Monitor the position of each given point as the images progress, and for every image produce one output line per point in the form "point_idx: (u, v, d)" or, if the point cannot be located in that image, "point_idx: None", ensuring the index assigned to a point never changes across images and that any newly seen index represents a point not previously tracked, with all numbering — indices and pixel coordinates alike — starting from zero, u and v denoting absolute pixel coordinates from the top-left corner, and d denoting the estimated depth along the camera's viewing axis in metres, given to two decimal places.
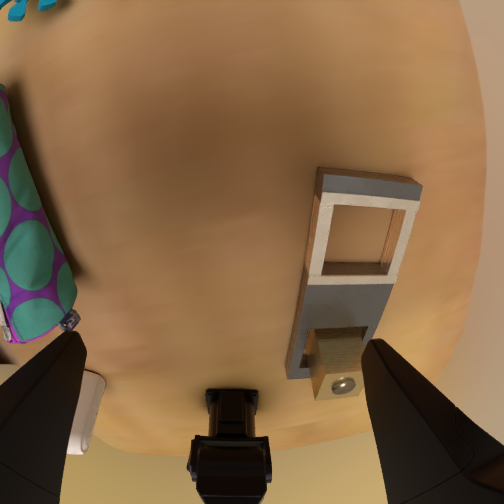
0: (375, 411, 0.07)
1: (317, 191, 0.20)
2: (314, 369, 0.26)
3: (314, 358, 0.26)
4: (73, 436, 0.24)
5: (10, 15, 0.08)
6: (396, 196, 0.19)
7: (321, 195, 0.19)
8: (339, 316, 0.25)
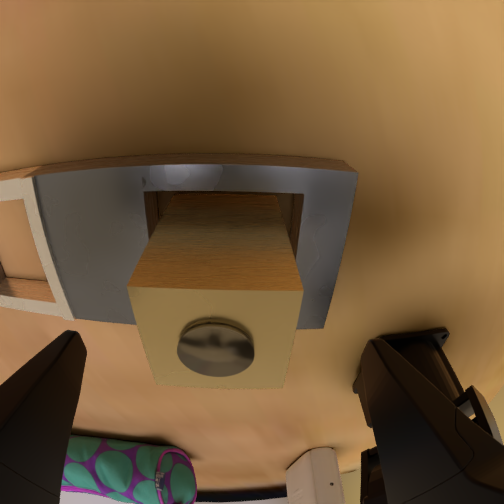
0: (375, 411, 0.07)
1: None
2: None
3: None
4: None
5: None
6: None
7: None
8: (121, 267, 0.12)
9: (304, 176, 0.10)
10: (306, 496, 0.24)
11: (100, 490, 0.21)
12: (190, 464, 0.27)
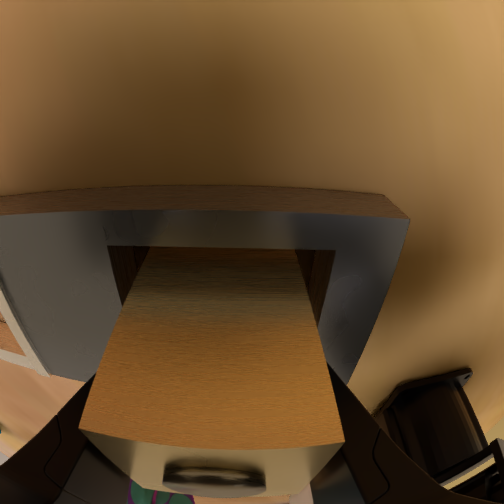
0: None
1: None
2: None
3: None
4: None
5: None
6: None
7: None
8: (92, 331, 0.09)
9: (338, 226, 0.07)
10: None
11: None
12: None
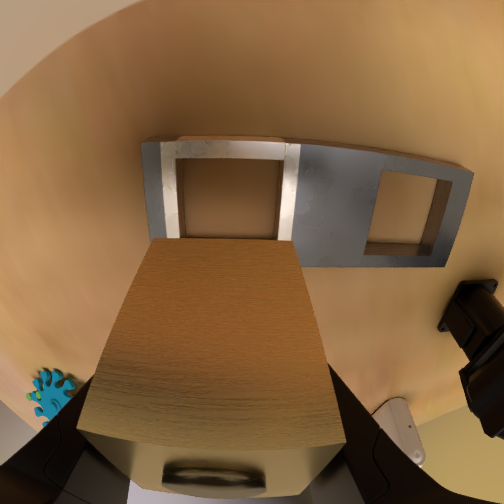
0: None
1: None
2: None
3: None
4: None
5: None
6: (161, 179, 0.16)
7: None
8: (350, 219, 0.18)
9: (454, 172, 0.16)
10: None
11: None
12: None
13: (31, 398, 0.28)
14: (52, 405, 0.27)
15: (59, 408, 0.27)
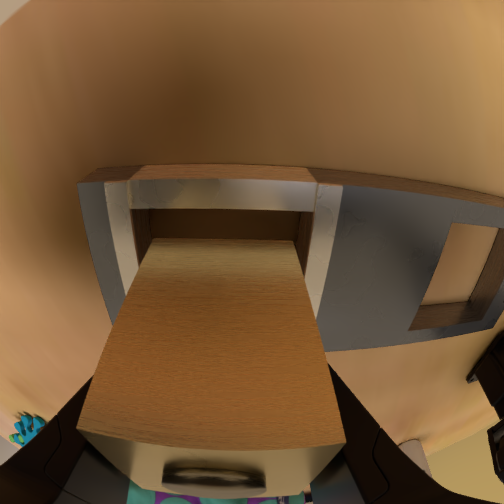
0: None
1: None
2: None
3: None
4: None
5: None
6: (113, 240, 0.10)
7: None
8: (399, 292, 0.12)
9: None
10: None
11: None
12: None
13: (14, 440, 0.21)
14: None
15: None
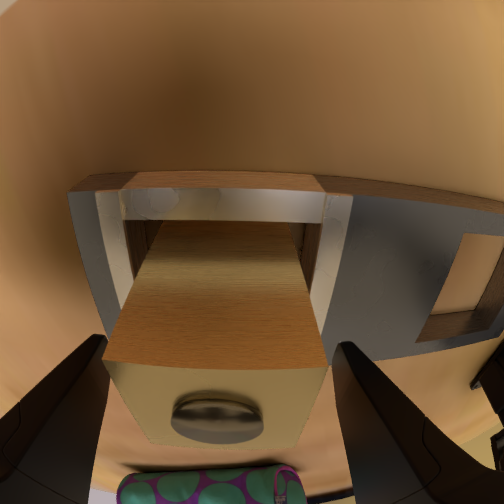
0: (343, 416, 0.07)
1: None
2: None
3: None
4: None
5: None
6: (106, 253, 0.09)
7: None
8: (408, 305, 0.11)
9: None
10: None
11: None
12: (298, 478, 0.25)
13: None
14: None
15: None
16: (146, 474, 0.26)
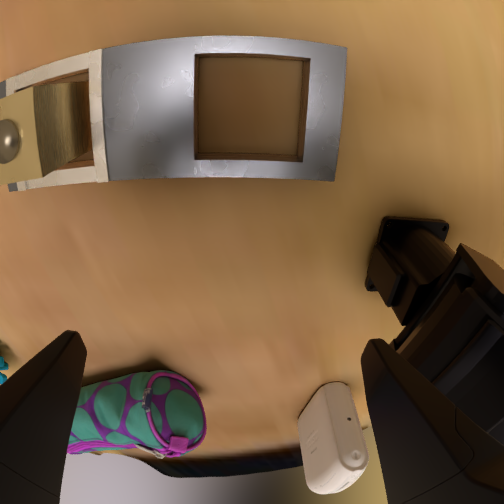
0: (375, 411, 0.07)
1: None
2: None
3: None
4: (334, 466, 0.22)
5: (2, 383, 0.23)
6: None
7: None
8: (166, 116, 0.14)
9: (309, 46, 0.12)
10: (322, 435, 0.26)
11: (100, 434, 0.23)
12: (196, 394, 0.28)
13: None
14: None
15: None
16: None
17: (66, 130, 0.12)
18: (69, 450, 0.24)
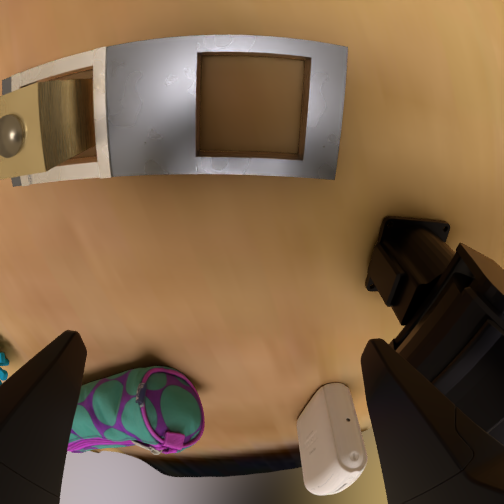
0: (375, 411, 0.07)
1: None
2: None
3: None
4: (332, 467, 0.22)
5: (2, 379, 0.24)
6: None
7: None
8: (168, 113, 0.14)
9: (310, 46, 0.13)
10: (321, 436, 0.26)
11: (98, 431, 0.23)
12: (194, 390, 0.28)
13: None
14: None
15: None
16: None
17: (70, 126, 0.12)
18: (70, 448, 0.24)
